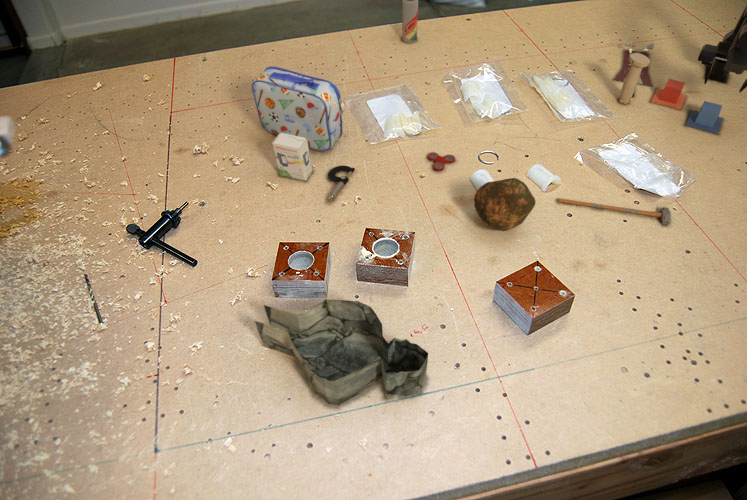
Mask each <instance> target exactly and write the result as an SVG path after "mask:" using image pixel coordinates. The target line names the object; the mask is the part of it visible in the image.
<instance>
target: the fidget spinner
mask: <svg viewBox="0 0 747 500" xmlns="http://www.w3.org/2000/svg"><path fill="white" fill-rule="evenodd" d="M427 159H428V161H431V162H434V163H433V164H432V169H433V170H434V171H436V172H441V171H443V170H444V169H445V164H453V163H455V162H456V157H455V155H453V154H446V155H443V156H440V155H439V153H437V152H434V151H433V152H429V153H428V154H427Z"/></svg>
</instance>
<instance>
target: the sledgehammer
mask: <svg viewBox="0 0 747 500" xmlns="http://www.w3.org/2000/svg"><path fill="white" fill-rule="evenodd" d="M558 202H559V203H563V204H569V205H576V206H583V207H584V206H585V207H591V208H596V209H597V208H598V209H604V210H610V211H617V212H623V213H627V214H628V213H629V214H636V215H643V216H649V217H654V218H660V223H661V224H662V225H664V226H667V225H670V223H671V222H672V221H671V216H672V215H671V214H672V213H671V211H670V208H669V207H666V206H663V207H661V208H660V210H659V211H649V210H642V209H635V208H629V207H628V208H627V207H621V206H613V205H608V204H607V205H606V204H600V203H593V202H587V201H579V200H572V199H565V198H558Z"/></svg>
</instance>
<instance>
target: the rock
mask: <svg viewBox="0 0 747 500" xmlns="http://www.w3.org/2000/svg"><path fill="white" fill-rule="evenodd" d="M473 200H474V201H473V203H474V204H473V207H474V209H475V212H476V214H477V216H478V217H479V219H480V220H481V221H482V222H483V223H485V224H486V225H487V226H488V227H489V228H490V229H492V230H495V231H500V232H501V231H502V232H506V231H510V230H512V229H515V228H516V227H518V226H521V225H522V224H523V223H524V222H525V220H526V219H527V218H528V217H529V215H530V213H531V212H532V211H533V209H534V208H535V206H536V203H537V201H536V197H534V195H533V193H532V192H531V190H530V188H529V187H528V185H527V184H526V183H525V182H524V181H522V180H520V179H519V178H516V177H510V178H504V179H500V180H494V181H487V182H486V183H484V184H483V185H481V186H480V187H479V188H478V189H477V190H476V191H475V193H474V199H473Z"/></svg>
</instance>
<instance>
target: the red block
mask: <svg viewBox="0 0 747 500" xmlns="http://www.w3.org/2000/svg"><path fill="white" fill-rule="evenodd" d="M685 85H686V82H685V81H680V80H676V79H673V78H667V81H666V84H665V86H664V88H663V89H664V90H663V92H662V95H661V97H660V99H659V100H663V101H667V102H670V103H674V104H676V102H677V100H678V98H679V96H680V94H682V92H683V89H684V87H685Z"/></svg>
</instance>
